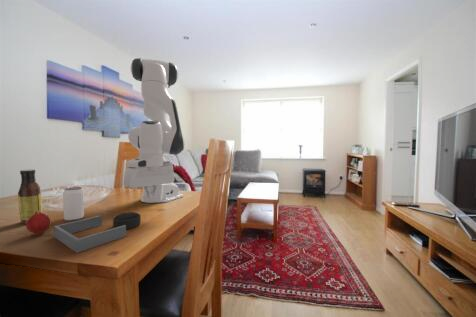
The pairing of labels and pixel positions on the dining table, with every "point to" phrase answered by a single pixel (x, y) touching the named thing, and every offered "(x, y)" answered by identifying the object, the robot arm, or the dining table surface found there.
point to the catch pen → (89, 241)
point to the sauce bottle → (29, 195)
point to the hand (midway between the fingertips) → (151, 196)
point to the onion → (38, 223)
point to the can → (73, 203)
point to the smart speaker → (127, 220)
